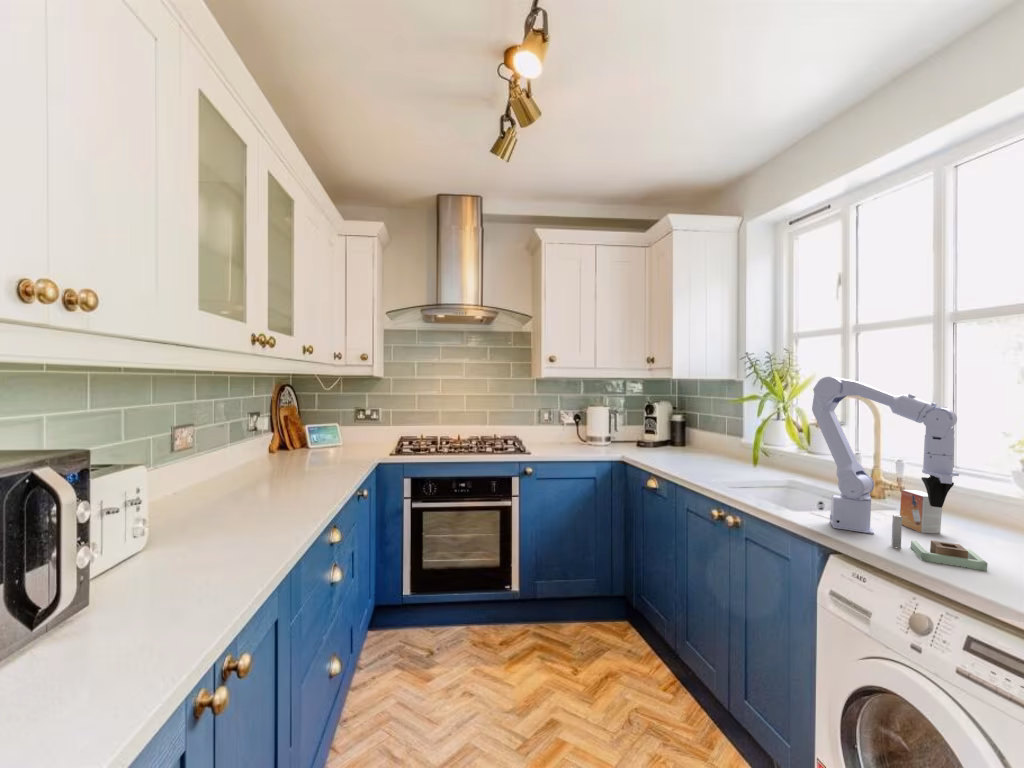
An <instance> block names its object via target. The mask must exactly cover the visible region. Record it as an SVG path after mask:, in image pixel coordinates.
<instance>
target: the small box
mask: <svg viewBox="0 0 1024 768" xmlns="http://www.w3.org/2000/svg"><path fill="white" fill-rule="evenodd" d="M900 490H901V491H900V493H901V494H900V510H899V515H900V516H902V526H905V527H906V528H909V529H912V530H913V531H916V532H918V533H921V534H941V528H942V527H941V526H942V512H943V507H942V508H940V507H932V506H930V503H929V499H928V494H927V492H925V491H923V490H914V489H912V490H911V489H900Z"/></svg>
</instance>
